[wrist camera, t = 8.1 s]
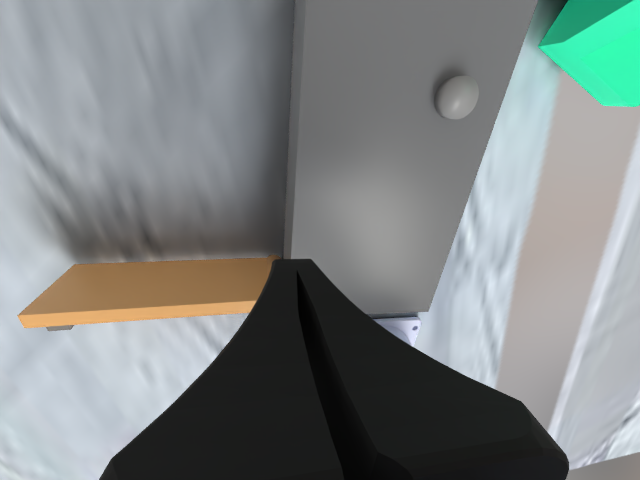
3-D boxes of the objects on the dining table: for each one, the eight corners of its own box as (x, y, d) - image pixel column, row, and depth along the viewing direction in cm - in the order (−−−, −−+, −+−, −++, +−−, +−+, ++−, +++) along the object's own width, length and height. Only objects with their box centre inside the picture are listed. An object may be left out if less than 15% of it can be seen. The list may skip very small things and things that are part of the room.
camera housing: (396, 268, 22) (433, 318, 17) (282, 270, 20) (288, 325, 16) (467, -5, 15) (570, -55, 10) (296, -41, 13) (316, -124, 8)
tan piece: (282, 254, 19) (286, 295, 15) (282, 274, 20) (286, 319, 16) (73, 261, 17) (15, 312, 13) (82, 284, 18) (30, 338, 14)
